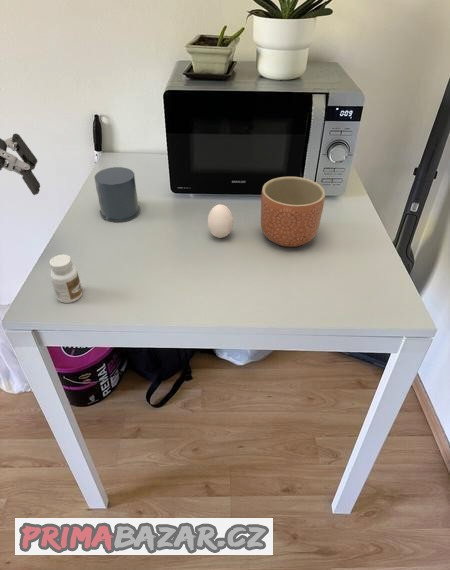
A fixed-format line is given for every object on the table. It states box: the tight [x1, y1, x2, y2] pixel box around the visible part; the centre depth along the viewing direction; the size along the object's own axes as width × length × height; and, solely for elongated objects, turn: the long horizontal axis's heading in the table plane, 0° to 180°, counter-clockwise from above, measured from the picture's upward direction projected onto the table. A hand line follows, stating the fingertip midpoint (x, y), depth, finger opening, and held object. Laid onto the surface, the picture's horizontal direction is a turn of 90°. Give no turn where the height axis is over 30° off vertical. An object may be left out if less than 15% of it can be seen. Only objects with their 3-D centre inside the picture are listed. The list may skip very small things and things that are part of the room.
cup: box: [94, 166, 141, 224], centre depth 98 cm, size 9×9×9 cm
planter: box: [260, 176, 326, 248], centre depth 90 cm, size 12×12×11 cm
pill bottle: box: [48, 254, 83, 304], centre depth 76 cm, size 4×4×8 cm
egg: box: [207, 204, 234, 239], centre depth 91 cm, size 5×5×7 cm
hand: (14, 201), depth 74 cm, fingers open, 8 cm apart
